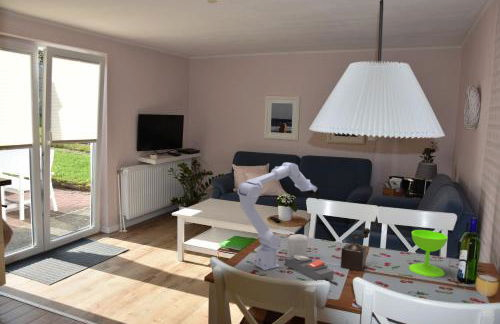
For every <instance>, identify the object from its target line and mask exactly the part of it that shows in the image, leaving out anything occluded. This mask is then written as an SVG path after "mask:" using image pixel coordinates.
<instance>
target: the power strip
mask: <svg viewBox="0 0 500 324" xmlns="http://www.w3.org/2000/svg"><path fill="white" fill-rule="evenodd" d="M297 256H299V255H297ZM305 257H306V256H305ZM307 258H309V260H304V261H303V260H297V259H295V258H294V256H292V257H287V256H286V257H285V258H284V265H285V266H287V267H288V268H290V269H293V270H295V271H296V272H299V273H301V274H302V275H304V276H307V277H309V278H311V279H313V280H315V281H317V280H325V281H327V280H328V281H327V282H329V281H330V283H332V284H333V283H334V285H336V286H338V285H339V282H337V281H334V280H333V279H334V272H335V271H334V270H333V269H330V268H328V265H327V264H324V265H322V266H321V267H318V268H312V267H310V266H308V264H310V263H312V262H313V259H312V258H310V257H308V256H307ZM331 278H332V279H331Z"/></svg>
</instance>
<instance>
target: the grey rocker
mask: <svg viewBox="0 0 500 324" xmlns="http://www.w3.org/2000/svg"><path fill="white" fill-rule="evenodd" d="M307 257H308V256H307ZM307 257H305V256H297V255H294V258H295V259H297V260H303V261H304V260H309V258H310V257H308V258H307Z"/></svg>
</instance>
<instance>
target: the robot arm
mask: <svg viewBox="0 0 500 324" xmlns="http://www.w3.org/2000/svg"><path fill="white" fill-rule="evenodd" d="M286 177H289V178H290V179H291V180H292V182H293V183H294V186H295V188H297V189H296V191H297V192H299V193H301V194H303V195H304V196H305V197H309V196H310V195H311V196H313V197H314V198H315V199H316V200H320V198H321V194H320V191H319V186H318V185H314V184H313V183H311V180H310V178H309V179H307V178H306V177H305V175H303V173H302V172H301V171H300V170H299V166H298V164H296V163H294V162H283V163H282V164H281V165H280V166H274V168H272V169H271V171H270V173H266V174H263V175H260V176H257V177H254V178H249V179H247V180H246V181H243V182H241V183H240V184H239V186H238V189H237V195H238V197H239V202H240V207H241V210H242V211H243V214H245V215H246V217H247V219H248V220H249V222H250V223H251V224H252V226H253V228H254V229H255V230H256V232H257V237H258V241H259V243H260V246H261V248H259V249H258V250H256V253H255V264H254V265H255V267H258V268H259V269H262V270H263V271H267V270H271V269H275V268H279V267H280V266H281V265H280V264H278V263H277V251H278V248H279V247H280V245H281V238H280V237H278V236H277V235H276V234H275V233H274V232H273V231H271V230H270V228H269V227H268V226H267V224H266V222H265V221H264V219H263V218H262V216H261V214H260V213H259V211H258V210H257V209H256V207H255V206H254V205H256V202H258V199H259V197H260V195H261V191H263V185H265V184H267V183H270V182H271V181H273V180H275V181H279V180H282V179H284V178H286Z"/></svg>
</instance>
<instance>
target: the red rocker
mask: <svg viewBox="0 0 500 324" xmlns="http://www.w3.org/2000/svg"><path fill="white" fill-rule="evenodd" d="M322 265H325V262H324V261H323V260H320V259H316V260H314V261H312V263H310V264H308V266H310V267H312V268H318V267H321V266H322Z"/></svg>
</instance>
